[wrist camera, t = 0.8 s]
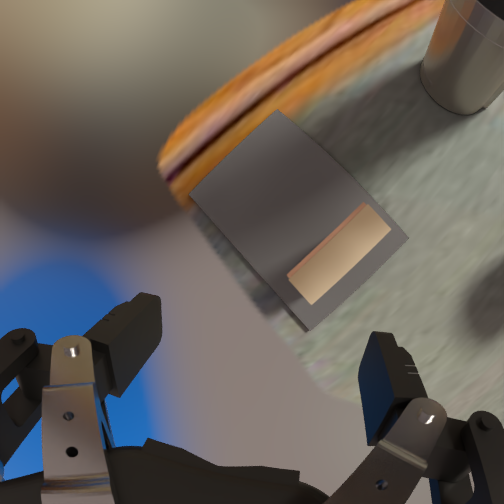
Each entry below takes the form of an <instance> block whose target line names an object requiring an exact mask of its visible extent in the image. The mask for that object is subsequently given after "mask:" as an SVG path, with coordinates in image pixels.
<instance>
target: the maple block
mask: <svg viewBox="0 0 504 504" xmlns="http://www.w3.org/2000/svg"><path fill="white" fill-rule="evenodd" d="M390 230H391V228H390V227H389V226H388V225H387V224H386V223H385V222H384V221H383V219H382V218H381V217H380V216H379V215H378V214H377V213H376V212H375V211H374V210H373V209H372V208H371V207H370V205H369V204H367V205H366V204H365V203H364V202H363V203H362V204H361V205H360V206H359V207H358V208H357V209H356V210H354V211H353V212H352V213H351V214H350V215H349V216H348V217H347V218H346V219H345V220H344V221H343V222H342V223H341V224H340V225H339V226H338V227H337V228H336V229H335V230H334V231H333V232H332V233H331V234H330V235H329V236H327V237H326V238H325V239H324V240H323V241H322V242H321V243H320V244H319V245H318V246H317V247H316V248H315V249H314V250H313V251H312V252H311V253H309V254H308V255H307V256H306V257H305V258H304V259H303V260H302V261H301V262H300V263H299V264H298V265H297V266H295V267H294V268H293V269H292V270H291V271H290V272H289V273H288V274H287V276H288V277H289V279H288V280H289V281H290V282H291V283H292V284H293V285H294V287H295V288H296V289H297V290H298V291H299V292H300V293H301V294H302V295H303V297H304V298H305V299H306V300H307V301H308V302H309V303H310V304H311V305H312V304H313V303H315V302H316V301H317V300H318V299H319V298H320V297H321V296H322V295H323V294H325V293H326V292H327V291H328V290H329V289H330V288H331V287H332V286H333V285H334V284H335V283H337V282H338V281H339V280H340V279H341V278H342V277H343V276H344V275H345V274H346V273H347V272H348V271H349V270H350V269H352V268H353V267H354V266H355V265H356V264H357V263H358V262H359V261H360V260H361V259H362V258H363V257H364V256H365V255H366V254H367V253H368V252H369V251H370V250H371V249H372V248H373V247H374V246H375V245H376V244H377V243H378V242H379V241H380V240H381V239H382V238H383V237H384V236H385V235H386V234H387V233H388V232H389V231H390Z"/></svg>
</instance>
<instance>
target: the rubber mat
mask: <svg viewBox="0 0 504 504" xmlns="http://www.w3.org/2000/svg"><path fill="white" fill-rule="evenodd" d="M189 195H190V196H191V198H192V199H193V200H194V201H195V202H196V203H197V204H198V206H199V207H200V208H201V209H202V210H203V211H204V212H205V214H206V215H207V216H208V217H209V218H210V219H211V220H212V221H213V223H214V224H215V225H216V226H217V227H218V228H219V229H220V231H221V232H222V233H223V234H224V235H225V236H226V237H227V238H228V240H229V241H230V242H231V243H232V244H233V245H234V246H235V248H236V249H237V250H238V251H239V252H240V253H241V254H242V255H243V257H244V258H245V259H246V260H247V261H248V262H249V263H250V264H251V266H252V267H253V268H254V269H255V270H256V271H257V272H258V273H259V275H260V276H261V277H262V278H263V279H264V280H265V281H266V282H267V283H268V285H269V286H270V287H271V288H272V289H273V290H274V291H275V292H276V294H277V295H278V296H279V297H280V298H281V299H282V300H283V301H284V302H285V304H286V305H287V306H288V307H289V308H290V309H291V310H292V311H293V313H294V314H295V315H296V316H297V317H298V318H299V319H300V320H301V321H302V323H303V324H304V325H305V326H306V327H307V328H308V329H309V330H310V331H311V330H312V329H313V328H314V327H315V326H317V325H318V324H319V323H320V322H321V321H322V320H323V319H325V318H326V317H327V316H328V315H329V314H330V313H331V312H333V311H334V310H335V309H336V308H337V307H338V306H339V305H340V304H342V303H343V302H344V301H345V300H346V299H347V298H348V297H349V296H350V295H351V294H352V293H354V292H355V291H356V290H357V289H358V288H359V287H360V286H361V285H362V284H363V283H364V282H365V281H366V280H367V279H368V278H370V277H371V276H372V275H373V274H374V273H375V272H376V271H377V270H378V269H379V268H380V267H381V266H382V265H383V264H384V263H385V262H386V261H387V260H388V259H389V258H390V257H391V256H392V255H393V254H394V253H395V252H396V251H397V250H398V249H399V248H400V247H401V246H402V245H403V244H404V243H405V242H406V241H407V240H408V239H409V237H408V236H407V235H406V234H405V233H404V232H403V230H402V229H401V228H400V227H399V226H398V225H397V224H396V222H395V221H394V220H393V219H392V218H391V217H390V216H389V215H388V214H387V213H386V211H385V210H384V209H383V208H382V207H381V206H380V205H379V204H378V203H377V202H376V201H375V200H374V199H373V198H372V197H371V195H370V194H369V193H368V192H367V191H366V190H365V189H364V188H363V187H362V186H361V185H360V184H359V183H358V182H357V181H356V180H355V179H354V178H353V177H352V176H351V175H350V174H349V173H348V172H347V171H346V170H345V169H344V168H343V167H342V166H341V165H340V164H339V163H337V162H336V161H335V160H334V159H333V158H332V157H331V156H330V155H329V154H328V153H327V152H326V151H325V150H324V149H323V148H321V147H320V146H319V145H318V144H317V143H316V142H315V141H314V140H313V139H312V138H310V137H309V136H308V135H307V134H306V133H305V132H304V131H302V130H301V129H300V128H299V127H298V126H297V125H296V124H294V123H293V122H292V121H291V120H290V119H288V118H287V117H286V116H285V115H284V114H283V113H281V112H280V111H279V110H278V109H277V110H276V111H274V112H273V113H272V114H271V115H270V116H269V117H268V118H267V119H266V120H264V121H263V122H262V123H261V124H260V125H259V126H258V127H257V128H256V129H255V130H253V131H252V132H251V133H250V134H249V135H248V136H247V137H246V138H245V139H244V140H243V141H242V142H241V143H240V144H239V145H237V146H236V147H235V148H234V149H233V150H232V151H231V152H230V153H229V154H228V155H227V156H226V157H225V158H224V159H223V160H222V161H221V162H220V163H219V164H218V165H217V166H216V167H215V168H214V169H213V170H212V171H211V172H210V173H209V174H208V175H207V176H206V177H205V178H204V179H203V180H202V181H201V182H200V183H199V184H198V185H197V186H196V187H195V188H194V189H193V190H192V191H191V192H190V193H189ZM363 202H364V203H365V204H366V205H367V204H369V205H370V207H371V208H372V209H373V210H374V211H375V212H376V213H377V214H378V215H379V216H380V217H381V218H382V219H383V221H384V222H385V223H386V224H387V225H388V226H389V227H390V228H391V230H390V231H389V232H388V233H387V234H386V235H385V236H384V237H383V238H382V239H381V240H380V241H379V242H378V243H377V244H376V245H375V246H374V247H373V248H372V249H371V250H370V251H369V252H368V253H367V254H366V255H365V256H364V257H363V258H362V259H361V260H360V261H359V262H358V263H357V264H356V265H355V266H354V267H353V268H352V269H350V270H349V271H348V272H347V273H346V274H345V275H344V276H343V277H342V278H341V279H340V280H339V281H338V282H337V283H335V284H334V285H333V286H332V287H331V288H330V289H329V290H328V291H327V292H326V293H325V294H323V295H322V296H321V297H320V298H319V299H318V300H317V301H316V302H315V303H313V304H312V305H311V304H310V303H309V302H308V301H307V300H306V299H305V298H304V297H303V295H302V294H301V293H300V292H299V291H298V290H297V289H296V288H295V287H294V285H293V284H292V283H291V282H290V281H289V280H288V279H289V277H288V276H287V274H288V273H289V272H290V271H291V270H292V269H293V268H294V267H295V266H297V265H298V264H299V263H300V262H301V261H302V260H303V259H304V258H305V257H306V256H307V255H308V254H309V253H311V252H312V251H313V250H314V249H315V248H316V247H317V246H318V245H319V244H320V243H321V242H322V241H323V240H324V239H325V238H326V237H327V236H329V235H330V234H331V233H332V232H333V231H334V230H335V229H336V228H337V227H338V226H339V225H340V224H341V223H342V222H343V221H344V220H345V219H346V218H347V217H348V216H349V215H350V214H351V213H352V212H353V211H354V210H356V209H357V208H358V207H359V206H360V205H361V204H362V203H363Z"/></svg>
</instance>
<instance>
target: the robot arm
mask: <svg viewBox="0 0 504 504" xmlns="http://www.w3.org/2000/svg"><path fill="white" fill-rule="evenodd" d="M420 77H421V81H422V83H423V86H424V87H425V89H426V91H427V92H428V93H429V95H430V96H431V97H432V98H433V99H434V100H435V101H436V102H437V103H438V104H440V105H441V106H442V107H444V108H445V109H447V110H449V111H451V112H454V113H457V114H463V115H468V114H473V113H475V112H477V111H478V110H479V109H480V108H483V107H484V108H488V106H489V105H490V104H491V103H492V102H493V101H494V100H495V99H496V98H497V97H498V96H499V95H500V94H501V92H502V91H503V90H504V0H445V2H444V5H443V8H442V11H441V14H440V16H439V19H438V22H437V25H436V28H435V30H434V33H433V36H432V38H431V41H430V44H429V46H428V49H427V51H426V54H425V56H424V58H423V62H422V64H421V67H420ZM161 337H162V316H161V299H160V297H159V296H156V295H151V294H147V293H143V292H141V293H139V294H138V295H137V296H136V297H134V298H133V299H132V300H131V301H130V302H125V303H122V304H120V305H118V306H116V307H114V308H113V309H112V310H111V311H110V312H109V313H108V314H107V315H105V316H104V317H103V318H102V320H100V321H99V322H97V323H96V324H95V325H94V326H93V327H92V328H91V329H90V330H89V331H87V332H86V333H85V334H84V335H83V336H78V335H71V336H66V337H63V338H61V339H59V340H57V341H56V342H55V343H54V345H47V344H40V343H37V339H36V336H35V333H34V332H33V331H32V330H30V329H26V328H19V329H15V330H12V331H10V332H8V333H7V334H6V335H5V336H3V337H2V338H1V339H0V504H405V503H406V501H407V500H408V498H409V497H410V495H411V494H412V492H413V490H414V489H415V487H416V485H417V484H418V482H419V480H420V479H421V477H425V478H429V483H430V490H431V498H432V504H504V429H503V426H502V424H501V422H500V421H499V419H498V418H497V417H496V416H494V415H493V414H491V413H489V412H486V411H477V412H474V413H473V414H472V415H471V416H470V418H469V419H468V421H462V420H457V419H453V418H449V417H447V413H446V411H445V409H444V408H443V406H442V405H441V404H439V403H438V402H436V401H435V400H432V399H429V398H428V396H427V393H426V391H425V388H424V386H423V383H422V381H421V378H420V376H419V374H418V371H417V368H416V367H415V363H414V361H413V359H412V356H411V355H410V354H409V353H408V352H407V351H406V350H405V349H404V348H403V347H398V346H397V343H396V341H395V338H394V336H393V334H392V333H387V332H377V331H373V332H372V333H371V335H370V337H369V340H368V343H367V346H366V349H365V352H364V355H363V358H362V361H361V363H360V367H359V372H358V382H359V388H360V394H361V401H362V407H363V414H364V421H365V429H366V437H367V445H368V446H375V447H374V449H373V450H372V451H371V452H370V454H369V455H368V456H367V457H366V458H365V460H364V461H363V462H362V463H361V464H360V465H359V467H358V468H357V469H356V470H355V471H354V472H353V473H352V474H351V475H350V476H349V478H348V479H347V480H346V481H345V482H344V483H343V484H342V485H341V486H340V487H339V488H338V489H337V490H336V491H335V492H334V493H333V494H332V496H330V497H329V496H328V495H326V494H325V493H323V492H322V491H320V490H319V489H317V488H315V487H313V486H311V485H308V484H306V483H303V482H300V481H299V475H300V471H295V470H287V469H279V468H272V467H265V466H248V467H247V466H245V467H243V466H242V467H223V466H217V465H215V464H212V463H210V462H208V461H206V460H204V459H202V458H200V457H198V456H196V455H194V454H192V453H190V452H188V451H186V450H184V449H182V448H178V447H175V446H172V445H169V444H165V443H162V442H159V441H156V440H153V439H150V438H147V440H146V442H145V444H144V445H143V447H141V446H122V447H115V443H114V440H113V435H112V431H111V426H110V421H109V417H108V411H107V407H106V402H105V397H106V396H107V395H108V394H111V395H113V396H116V397H119V398H120V397H121V395H122V394H123V393H124V391H125V390H126V389H127V387H128V386H129V385H130V383H131V382H132V380H133V379H134V378H135V376H136V375H137V374H138V372H139V371H140V369H141V368H142V367H143V365H144V364H145V363H146V361H147V360H148V358H149V357H150V356H151V354H152V353H153V352H154V350H155V349H156V348H157V346H158V345H159V343H160V341H161ZM15 377H16V380H17V382H18V384H19V387H18V388H17V389H16V390H15V391H14V393H13V394H12V395H11V396H10V397H9V398H8V399H7V400H6V401H5V402H4V403H3V404H2V402H1V394H2V391H3V390H4V388H5V387H6V386H7V385H8V384H9V383H10V382H11V381H12V380H13V379H14V378H15ZM41 417H42V454H43V469H44V471H41V472H37V473H34V474H30V475H26V476H22V477H18V478H14V479H11V480H6V481H5V480H4V478H3V476H4V466H5V464H6V463H7V462H8V461H9V459H10V458H11V457H12V455H13V454H14V452H15V451H16V449H17V448H18V447H19V445H20V444H21V443H22V441H23V440H24V439H25V438H26V436H27V435H28V434H29V432H30V431H31V430H32V429H33V427H34V426H35V424H36V423H37V422H38V421H39V420H40V418H41ZM470 472H471V473H472V477H473V481H474V486H475V487H474V493H473V491H472V486H471V482H470V478H469V473H470Z"/></svg>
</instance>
